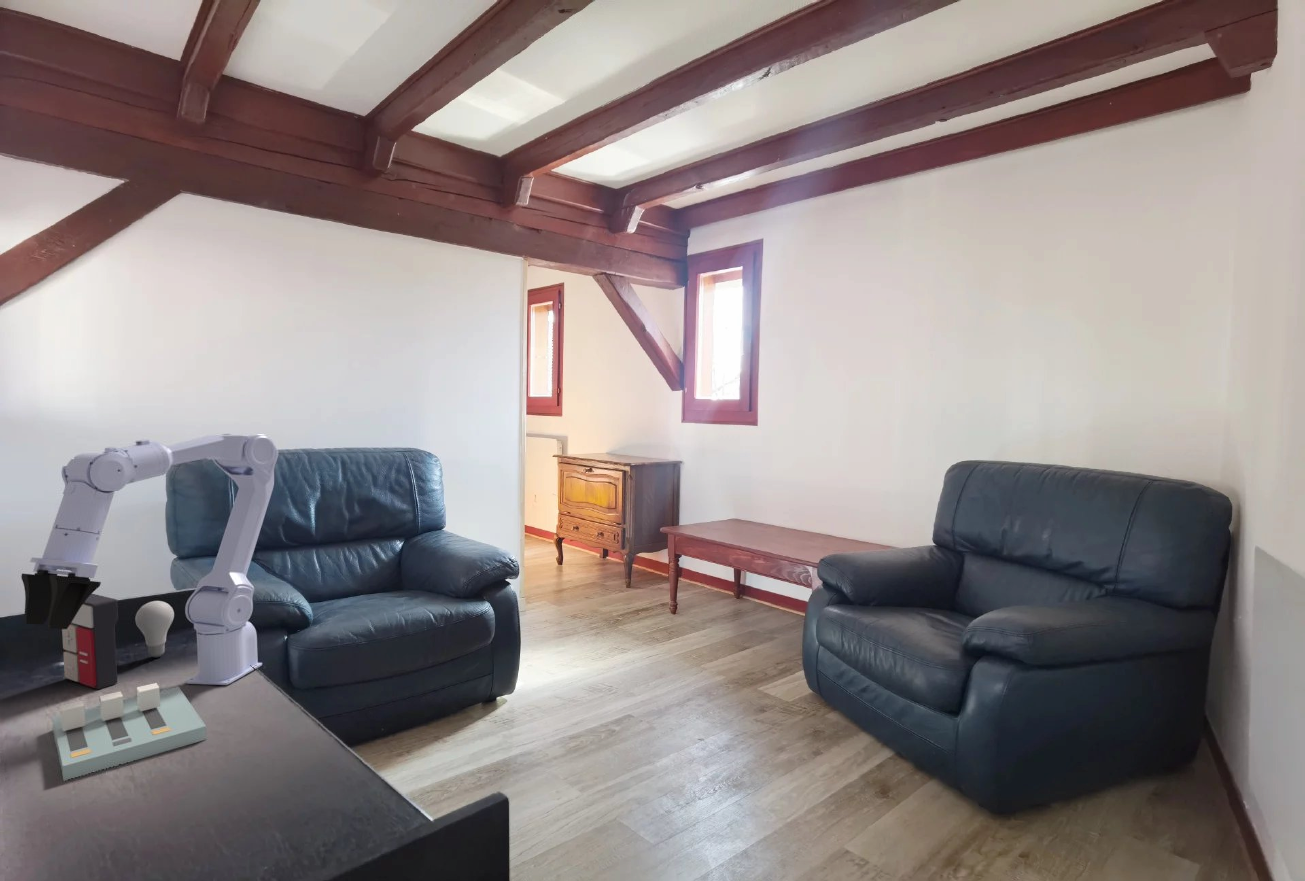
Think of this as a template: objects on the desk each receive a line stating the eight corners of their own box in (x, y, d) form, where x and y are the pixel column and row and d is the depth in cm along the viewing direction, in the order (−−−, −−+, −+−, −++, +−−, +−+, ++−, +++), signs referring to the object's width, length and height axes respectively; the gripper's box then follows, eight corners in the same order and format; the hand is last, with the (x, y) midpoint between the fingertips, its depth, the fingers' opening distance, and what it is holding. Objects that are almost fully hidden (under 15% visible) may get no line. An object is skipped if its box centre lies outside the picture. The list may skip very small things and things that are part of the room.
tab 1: (61, 725, 101) (60, 705, 101) (83, 720, 103) (82, 700, 103) (62, 731, 100) (61, 710, 99) (85, 725, 101) (84, 705, 101)
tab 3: (137, 706, 108) (136, 687, 107) (157, 701, 109) (156, 682, 109) (140, 711, 106) (139, 692, 106) (160, 706, 108) (159, 687, 107)
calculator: (61, 680, 124) (57, 597, 124) (90, 672, 128) (85, 591, 127) (93, 691, 119) (88, 605, 119) (121, 682, 123) (117, 599, 122)
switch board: (52, 730, 105) (52, 716, 105) (179, 698, 116) (178, 686, 116) (63, 781, 91) (62, 766, 91) (206, 739, 102) (205, 725, 102)
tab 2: (100, 715, 104) (99, 696, 104) (121, 710, 106) (120, 691, 106) (102, 721, 103) (101, 701, 102) (123, 715, 104) (122, 696, 104)
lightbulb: (146, 665, 131) (143, 607, 131) (131, 659, 135) (128, 603, 134) (181, 655, 136) (179, 599, 136) (167, 649, 140) (164, 595, 139)
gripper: (22, 525, 103) (-11, 620, 99) (67, 527, 96) (33, 628, 92) (78, 534, 109) (48, 623, 105) (124, 536, 102) (94, 632, 98)
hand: (45, 626), depth 99 cm, fingers open, 7 cm apart
